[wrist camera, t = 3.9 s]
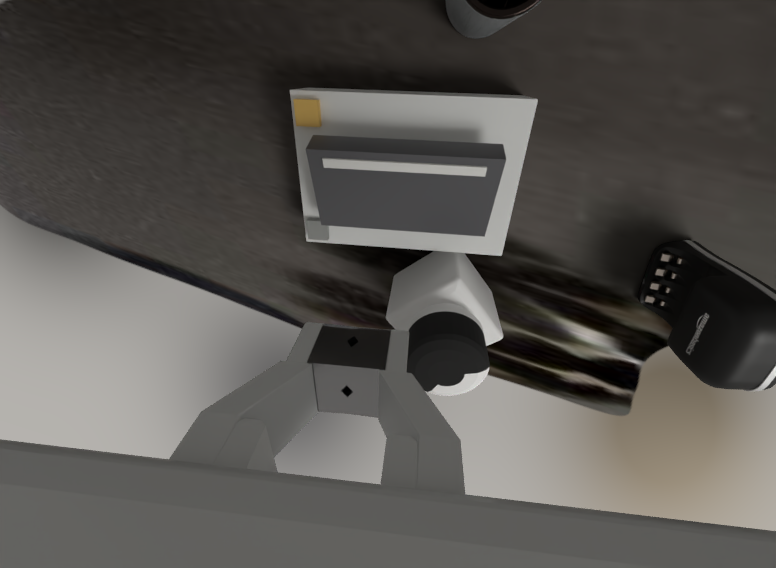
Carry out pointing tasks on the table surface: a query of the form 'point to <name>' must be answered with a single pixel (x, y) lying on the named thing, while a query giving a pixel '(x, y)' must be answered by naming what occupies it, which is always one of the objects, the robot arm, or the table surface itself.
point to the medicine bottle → (445, 322)
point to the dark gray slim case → (405, 183)
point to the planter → (485, 15)
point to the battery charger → (714, 315)
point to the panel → (414, 122)
